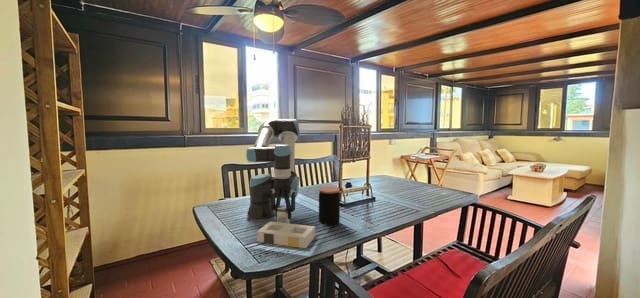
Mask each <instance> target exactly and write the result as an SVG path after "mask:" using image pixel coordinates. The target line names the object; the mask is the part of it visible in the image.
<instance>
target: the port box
mask: <svg viewBox="0 0 640 298" xmlns="http://www.w3.org/2000/svg"><path fill="white" fill-rule="evenodd" d="M256 234H257V235H256V240H257V242H258V243H257V245H258V246H264V247H269V248H270V247H271V248H278V249H284V250H285V249H286V250H291V251H292V250H293V251H299V252H305V253H307V250H305V249H307V248H308V247H309V246H310V244H311V242H312V241H313V240H314V238H315V237H316V226H313V225H305V224H297V223H290V224H289V223H280V222H277V221H268V222H267V223H266V224H264V225H263V226H262V227H261V228H260V229H258V230H257V231H256ZM262 243H264V244H262ZM270 244H271V245H270ZM272 244H273V245H272ZM277 245H279V246H277ZM280 245H281V246H280ZM282 246H286V247H282ZM290 247H293V248H290ZM297 248H301V249H297ZM303 249H304V250H303Z"/></svg>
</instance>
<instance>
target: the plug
mask: <svg viewBox="0 0 640 298" xmlns="http://www.w3.org/2000/svg"><path fill="white" fill-rule="evenodd" d="M277 211H278V222H280V223H286V213H287V208H286V205H285V204H283V205H281V204H280V206H279V207H278V209H277Z"/></svg>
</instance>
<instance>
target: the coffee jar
mask: <svg viewBox="0 0 640 298" xmlns="http://www.w3.org/2000/svg"><path fill="white" fill-rule="evenodd" d="M318 191H319V192H318V222H319V223H321V224H324V225H327V227H336V226H338V225H339V223H340V218H341V217H340V216H341V215H340V211H341V210H340V209H341V207H340V206H341V204H340V202H341V201H340V200H341V199H340V197H341V194H340V188H339V187H338V186H337V187H336V186H322V187H319V188H318Z"/></svg>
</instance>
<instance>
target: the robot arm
mask: <svg viewBox="0 0 640 298" xmlns="http://www.w3.org/2000/svg"><path fill="white" fill-rule="evenodd" d="M257 132H258V133H257V137H256V140H255V143H254V145H253V146H252V147H251V146H249V147H247V149H246V161H247V162H248V163H274V176H272V174H271V173H262V174H258V175H253V176H252V177H251V178H250V180H249V200H250V201H249V207H248V210H247V214H246V218H247V220H248V221H252V220H266V219H270V218H273V217H275V219H276V222H278V211H277V209H278V207H279V206H281V201H282V199H284V202H285V206H286V208H287V213H286V223H289V224H291V223H290V222H291V221H290V220H291V219H292V213H293V212H294V211H295V210H296V198H297V196H298V194H299V188H300V176H298V174H297V173H296V171H295V157H296V156H295V155H296V154H295V145H296V144H295V143H296V141H297V140H298V138H300V126H299V120H298V119H296V118H271V119H268V120H266V121H265V122H263V123H262V124H261V125H260V126H259V128H258V130H257ZM272 138H278V140H279V141H280V144H275V146H270V142H271V139H272Z"/></svg>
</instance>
